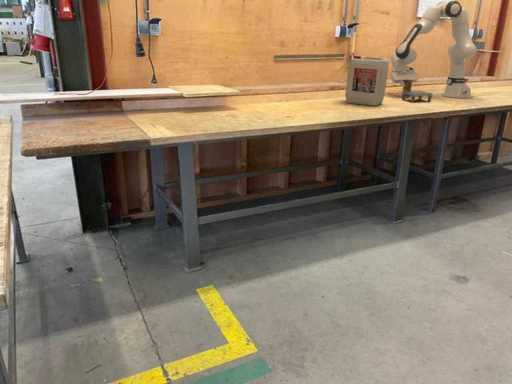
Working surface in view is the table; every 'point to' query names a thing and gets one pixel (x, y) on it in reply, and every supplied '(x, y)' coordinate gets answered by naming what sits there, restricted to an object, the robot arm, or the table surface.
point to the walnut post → (407, 86)
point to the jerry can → (366, 80)
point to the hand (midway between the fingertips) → (407, 86)
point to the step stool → (417, 93)
